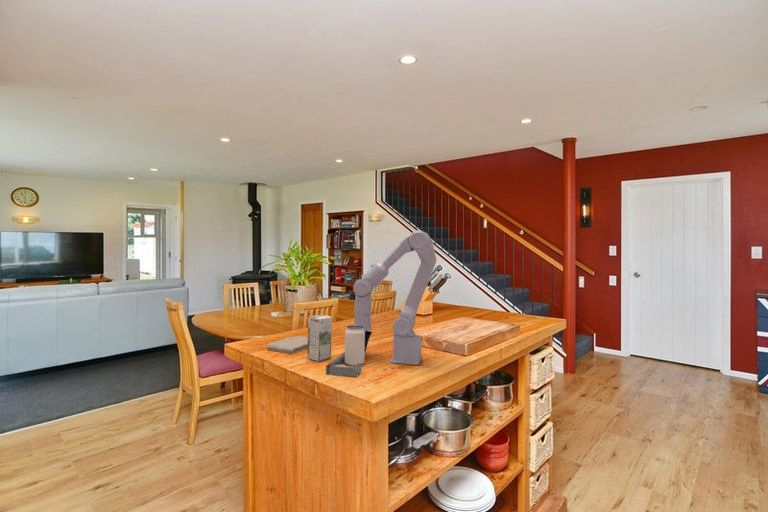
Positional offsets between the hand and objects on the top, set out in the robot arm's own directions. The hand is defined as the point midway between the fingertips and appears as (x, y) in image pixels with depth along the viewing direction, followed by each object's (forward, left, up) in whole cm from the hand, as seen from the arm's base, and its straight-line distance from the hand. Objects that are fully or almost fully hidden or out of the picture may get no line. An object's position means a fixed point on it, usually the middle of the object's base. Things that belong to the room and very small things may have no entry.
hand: (362, 352), depth 135 cm
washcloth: (+28, -7, -2) cm, 29 cm away
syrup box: (+13, +5, -2) cm, 15 cm away
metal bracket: (0, +10, -2) cm, 10 cm away
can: (0, +7, -2) cm, 7 cm away
